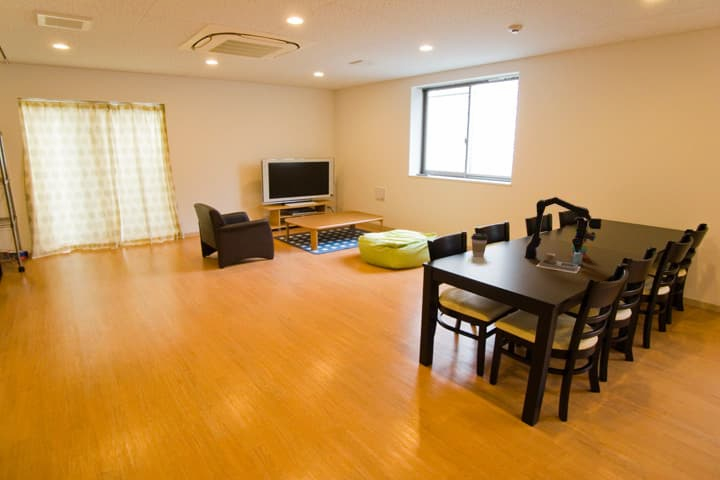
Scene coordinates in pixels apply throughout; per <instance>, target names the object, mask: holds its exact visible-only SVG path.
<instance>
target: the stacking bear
mask: <svg viewBox="0 0 720 480" xmlns="http://www.w3.org/2000/svg"><path fill="white" fill-rule="evenodd" d="M576 238H577V237H576ZM585 239H586V238H585ZM587 251H588V243H587V240H586V241H585V242H584V244H583V246H582V248H581V250H579V253H583V256H582V259H585V260H586V259H590V255H588V254H587ZM571 252H572V253H570V254H571V255H570V256H571V258H573V257H574V252H576V251H575V248H574V245H573V243H572V244H571Z"/></svg>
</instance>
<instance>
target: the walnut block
mask: <svg viewBox="0 0 720 480" xmlns="http://www.w3.org/2000/svg"><path fill="white" fill-rule="evenodd" d="M556 257H557V254H556V253H550V252H547V253H545V257H544V259H545V263H548V264H554V265H555V261H556Z"/></svg>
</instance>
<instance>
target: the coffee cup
mask: <svg viewBox="0 0 720 480" xmlns="http://www.w3.org/2000/svg"><path fill="white" fill-rule="evenodd" d="M487 235H488V234H485V233H479V232H478V233H473V234H472V235H471V237H470V238H471V253H472V256H473V257H474V258H484V256H485V252H486V248H487V243H488V240H489V237H488V236H487Z"/></svg>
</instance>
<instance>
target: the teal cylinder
mask: <svg viewBox="0 0 720 480" xmlns="http://www.w3.org/2000/svg"><path fill="white" fill-rule="evenodd" d="M582 256H583V253H579V252H578V253H576V252H574V257H572V264H577V265H578V266H581V265H582V262H583V258H582Z"/></svg>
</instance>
